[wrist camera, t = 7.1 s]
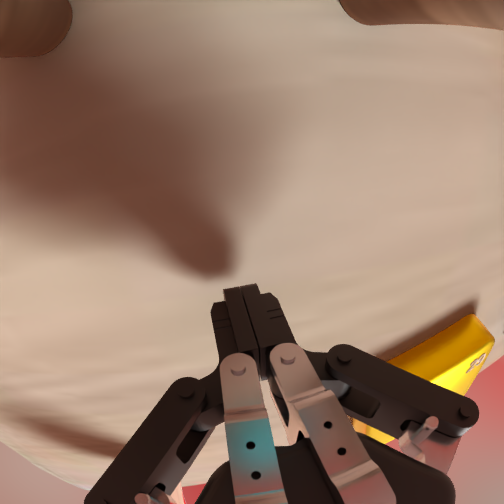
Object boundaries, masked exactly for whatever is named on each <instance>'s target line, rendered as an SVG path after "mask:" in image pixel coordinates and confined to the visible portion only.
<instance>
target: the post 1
mask: <svg viewBox="0 0 504 504" xmlns="http://www.w3.org/2000/svg"><path fill="white" fill-rule="evenodd" d="M71 22H72V8H71V5H70V3H69V1H68V0H0V58H6V57H28V56H40V55H43V54H46V53H48V52H50V51H51V50H53V49H54V48H55V47H56V46H58V45H59V44H60V43H61V41H62V40H63V39H64V38H65V36H66V34H67V33H68V31H69V28H70V26H71Z"/></svg>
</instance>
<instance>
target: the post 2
mask: <svg viewBox="0 0 504 504" xmlns="http://www.w3.org/2000/svg"><path fill="white" fill-rule="evenodd" d="M340 3H341V5H342V7H343V8H344V10H345V11H346V12H347V14H348V15H349V16H350V17H352V18H353V19H354V20H356V21H357V22H359V23H362V24H365V25H388V24H446V25H462V26H473V27H482V28H490V29H497V30H504V0H340Z"/></svg>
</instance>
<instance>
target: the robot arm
mask: <svg viewBox="0 0 504 504" xmlns="http://www.w3.org/2000/svg"><path fill="white" fill-rule="evenodd" d="M223 293H224V300H225V301H222V302H216V303H214V304H213V306H212V309H211V318H212V323H213V328H214V333H215V339H216V344H217V349H218V354H219V364H218V366H217V368H216V369H215V371H214V372H213V373H211V374H210V375H208V376H206V377H204V378H202V379H200V380H198V379H196V378H192V377H184V378H180V379H178V380H176V381H175V382H174V383H173V384H172V385H171V386H170V387H169V389H168V390H167V391H166V393H165V394H164V395H163V397H162V398H161V399H160V401H159V402H158V403H157V405H156V406H155V407H154V409H153V410H152V411H151V413H150V414H149V415H148V416H147V418H146V419H145V420H144V422H143V423H142V424H141V426H140V427H139V428H138V430H137V431H136V432H135V434H134V435H133V436H132V437H131V439H130V440H129V441H128V443H127V444H126V445H125V447H124V448H123V449H122V450H121V452H120V453H119V454H118V456H117V457H116V458H115V460H114V461H113V462H112V463H111V465H110V466H109V467H108V469H107V470H106V471H105V473H104V474H103V475H102V476H101V478H100V479H99V480H98V482H97V483H96V484H95V485H94V487H93V488H92V489H91V490H90V492H89V493H88V494H87V496H86V497H85V500H84V504H177V503H176V501H175V500H174V499H173V498H172V497H171V494H172V493H173V491H174V490H175V488H176V487H177V486H178V484H179V483H180V481H181V480H182V478H183V477H184V475H185V474H186V472H187V471H188V469H189V468H190V466H191V465H192V463H193V462H194V460H195V458H196V457H197V455H198V454H199V452H200V451H201V449H202V448H203V446H204V445H205V443H206V441H207V440H208V438H209V437H210V435H211V434H212V432H213V430H214V429H215V426H217V425H219V424H221V423H222V422H225V430H226V438H227V446H228V453H229V461H227V462H225V463H224V464H222V465H221V466H220V467H219V468H218V469H217V470H216V471H215V472H214V473H213V474H212V475H211V477H210V478H209V480H208V482H207V484H206V485H205V487H204V489H203V490H202V492H201V494H200V496H199V497H198V499H197V501H196V502H195V504H455V488H454V485H453V483H452V481H451V480H450V478H449V477H448V476H447V472H448V470H449V468H450V465H451V463H452V460H453V458H454V455H455V453H456V450H457V447H458V445H459V442H460V439H461V437H462V435H463V434H464V433H466V431H468V430H469V429H470V428H471V427H472V426H473V425H474V424H475V423H476V422H477V420H478V418H479V410H478V406H477V405H476V403H475V402H474V401H473V400H471V399H470V398H467V397H465V396H463V395H460V394H458V393H456V392H453V391H451V390H448V389H446V388H444V387H441V386H439V385H437V384H435V383H432V382H430V381H428V380H425V379H423V378H421V377H419V376H416V375H414V374H412V373H410V372H407V371H405V370H403V369H401V368H398V367H396V366H394V365H392V364H390V363H387V362H385V361H383V360H381V359H379V358H377V357H374V356H372V355H370V354H368V353H366V352H364V351H362V350H359V349H357V348H355V347H353V346H351V345H347V344H340V345H336V346H334V347H332V348H331V349H330V350H329V352H328V353H322V352H310V351H306V350H304V349H302V348H301V347H300V346H299V345H298V344H297V343H296V341H295V339H294V336H293V334H292V332H291V329H290V327H289V325H288V322H287V320H286V318H285V316H284V313H283V311H282V309H281V306H280V304H279V301H278V299H277V298H276V297H274V296H273V295H272V294H271V293H265V294H260V291H259V289H258V286H257V284H256V283H255V284H250V285H245V286H240V287H234V288H228V289H223ZM260 377H261V380H262V381H263V380H267V379H268V382H269V385H270V395H271V397H272V400H273V402H274V404H275V407H276V409H277V412H278V414H279V416H280V419H281V421H282V423H283V426H284V428H285V431H286V434H287V439H288V442H289V445H290V446H274V442H273V437H272V432H271V427H270V423H269V418H268V414H267V410H266V408H265V405H264V400H263V395H262V390H261V385H260ZM346 414H347V415H349V416H350V417H352V418H354V419H356V420H358V421H360V422H362V423H364V424H367V425H369V426H371V427H373V428H375V429H377V430H379V431H381V432H383V433H385V434H387V435H390V436H392V437H394V438H396V439H398V440H399V446H400V449H401V450H402V452H403V453H405V454H406V455H405V454H403V453H401V452H399V451H397V450H395V449H393V448H391V447H389V446H387V445H385V444H383V443H381V442H379V441H377V440H375V439H374V438H372V437H370V436H368V435H366V434H363V433H360V432H356V431H355V430H354V428H353V426H352V424H351V423H350V421H349V419H348V417H347V415H346ZM407 455H408V456H407Z"/></svg>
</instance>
